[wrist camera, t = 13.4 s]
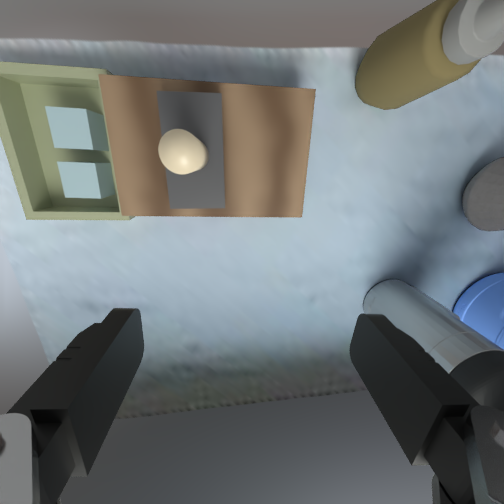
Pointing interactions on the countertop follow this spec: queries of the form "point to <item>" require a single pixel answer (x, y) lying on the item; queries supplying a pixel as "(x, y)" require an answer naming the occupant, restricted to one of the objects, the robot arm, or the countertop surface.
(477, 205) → the coffee pot
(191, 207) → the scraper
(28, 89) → the bin
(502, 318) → the water jug
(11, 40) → the countertop surface
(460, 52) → the squeeze bottle
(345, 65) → the countertop surface
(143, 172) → the flat wooden board
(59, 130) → the pale blue cube
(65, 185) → the light blue block
